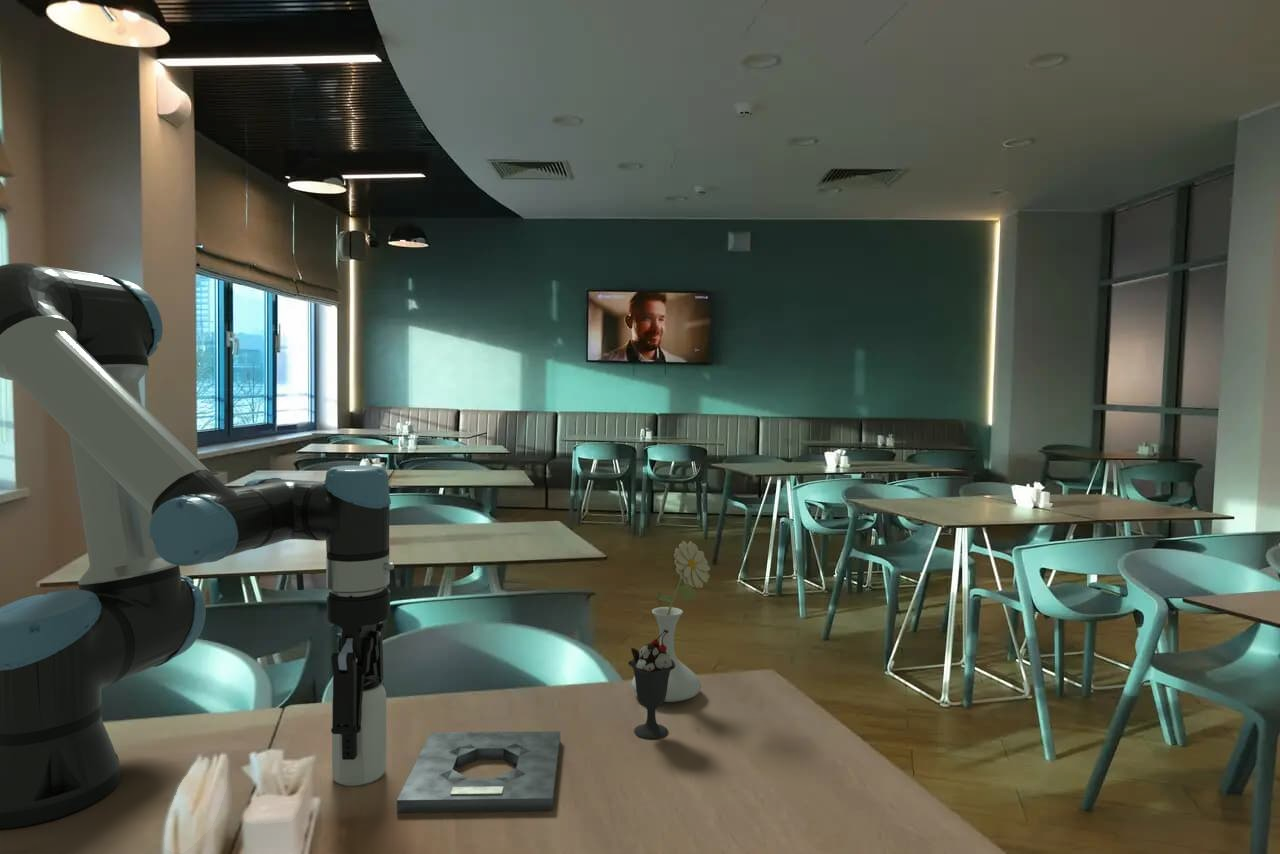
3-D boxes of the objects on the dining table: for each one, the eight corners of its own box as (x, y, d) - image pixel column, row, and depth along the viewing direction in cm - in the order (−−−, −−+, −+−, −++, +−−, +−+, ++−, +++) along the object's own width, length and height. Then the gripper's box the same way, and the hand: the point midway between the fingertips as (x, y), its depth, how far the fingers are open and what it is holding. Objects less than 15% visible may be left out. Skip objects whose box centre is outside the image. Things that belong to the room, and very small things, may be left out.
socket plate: (396, 812, 91) (396, 798, 91) (430, 742, 109) (430, 731, 109) (552, 810, 92) (552, 796, 92) (560, 741, 110) (560, 729, 110)
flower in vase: (651, 714, 120) (654, 552, 119) (619, 688, 130) (621, 538, 129) (723, 699, 126) (726, 545, 125) (686, 676, 136) (689, 533, 135)
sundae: (683, 734, 113) (685, 631, 112) (645, 746, 109) (646, 639, 109) (657, 718, 119) (658, 620, 118) (619, 728, 115) (620, 627, 114)
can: (394, 764, 103) (394, 674, 102) (372, 790, 97) (372, 694, 96) (347, 761, 104) (346, 672, 103) (322, 786, 97) (322, 691, 96)
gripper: (366, 610, 90) (368, 807, 91) (407, 571, 109) (408, 735, 110) (299, 610, 89) (302, 808, 91) (352, 571, 108) (353, 735, 109)
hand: (360, 768), depth 100 cm, fingers closed on can, 6 cm apart
